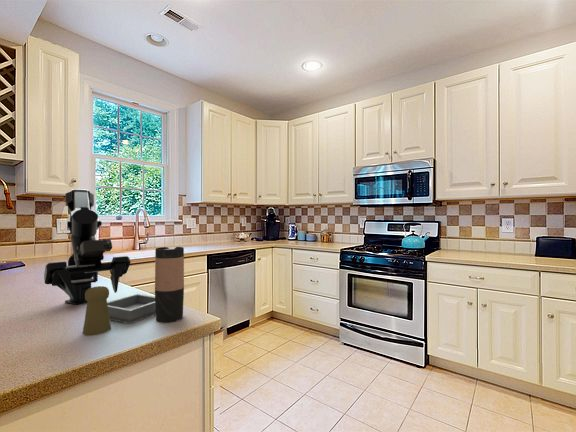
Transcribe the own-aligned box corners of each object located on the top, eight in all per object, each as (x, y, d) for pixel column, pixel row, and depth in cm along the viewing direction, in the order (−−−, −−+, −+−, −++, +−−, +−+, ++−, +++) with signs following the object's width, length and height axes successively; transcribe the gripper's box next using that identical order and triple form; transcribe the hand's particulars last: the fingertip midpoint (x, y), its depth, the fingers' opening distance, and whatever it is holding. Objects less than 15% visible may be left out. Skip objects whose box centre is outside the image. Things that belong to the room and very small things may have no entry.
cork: (77, 332, 73) (77, 288, 72) (102, 324, 78) (102, 283, 78) (91, 337, 70) (91, 291, 70) (116, 328, 75) (116, 286, 75)
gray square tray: (98, 317, 84) (98, 304, 84) (137, 304, 95) (137, 293, 95) (129, 323, 78) (129, 310, 78) (167, 309, 90) (167, 298, 90)
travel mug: (166, 325, 77) (166, 250, 77) (148, 319, 81) (149, 248, 81) (189, 317, 84) (189, 247, 84) (172, 312, 88) (172, 246, 88)
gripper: (45, 230, 71) (53, 282, 64) (128, 228, 85) (142, 270, 77) (41, 259, 77) (47, 310, 69) (119, 252, 90) (132, 295, 83)
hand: (95, 295), depth 74 cm, fingers open, 9 cm apart
